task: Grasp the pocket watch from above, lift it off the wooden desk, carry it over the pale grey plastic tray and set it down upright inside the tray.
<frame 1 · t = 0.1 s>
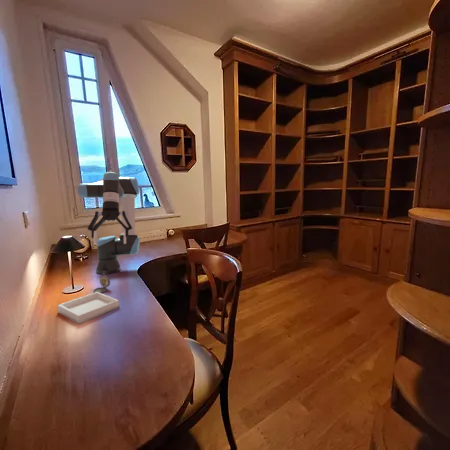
hand: (110, 244, 123), 28 cm above the table, tool tilted 20°, fingers open, 13 cm apart
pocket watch: (102, 290, 136), on the table
tray: (89, 309, 114), on the table
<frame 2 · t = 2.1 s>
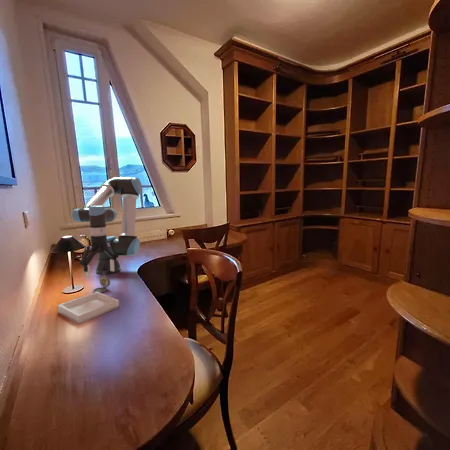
hand: (100, 274, 135), 9 cm above the table, tool pointing down, fingers open, 13 cm apart
nothing on the table moved.
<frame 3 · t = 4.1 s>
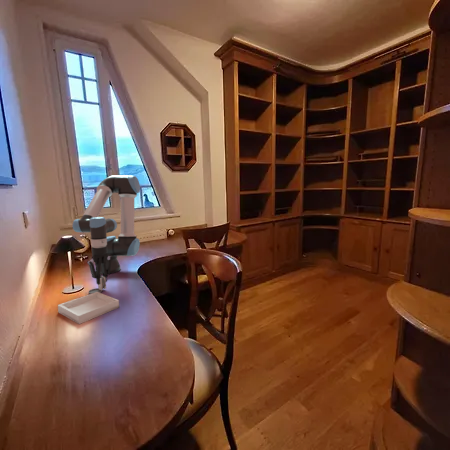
hand: (102, 288, 136), 1 cm above the table, tool pointing down, fingers closed on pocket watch
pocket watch: (97, 292, 135), on the table, touching gripper
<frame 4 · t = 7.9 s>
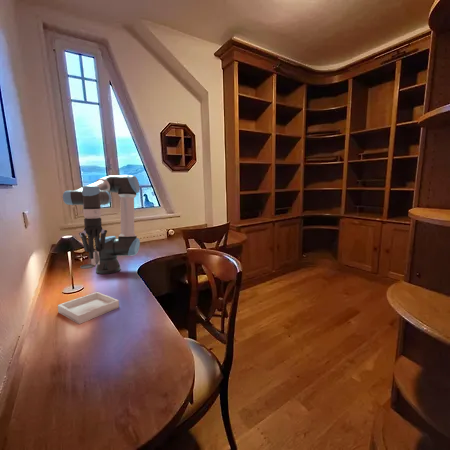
hand: (95, 264, 126), 17 cm above the table, tool pointing down, fingers closed on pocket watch
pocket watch: (90, 267, 124), point 16 cm above the table, touching gripper
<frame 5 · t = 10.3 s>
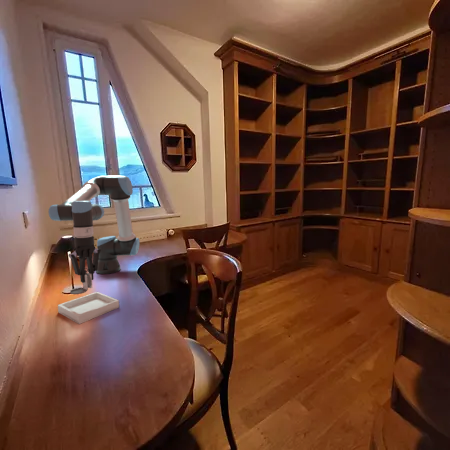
hand: (87, 288, 112), 10 cm above the table, tool pointing down, fingers closed on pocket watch
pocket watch: (82, 292, 111), point 9 cm above the table, touching gripper
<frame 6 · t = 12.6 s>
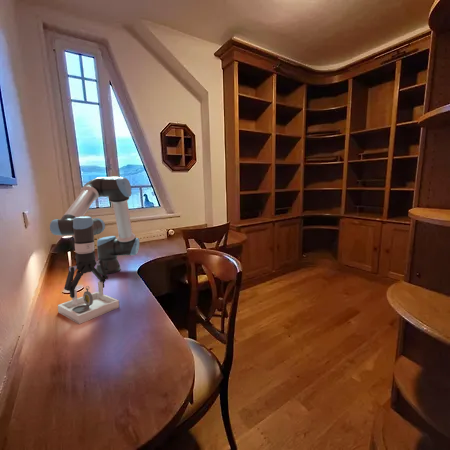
hand: (88, 299, 113), 5 cm above the table, tool pointing down, fingers open, 11 cm apart
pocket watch: (83, 309, 112), point 1 cm above the table, touching tray
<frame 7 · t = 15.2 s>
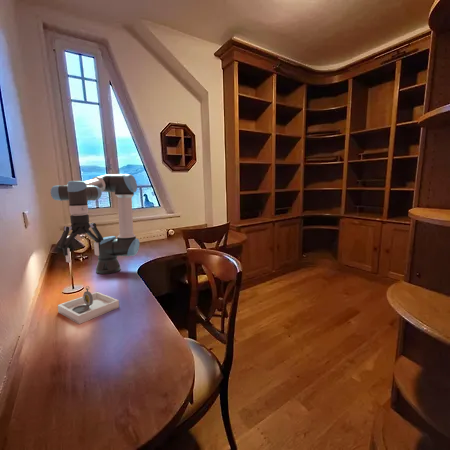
hand: (83, 258, 120), 21 cm above the table, tool pointing down, fingers open, 13 cm apart
nothing on the table moved.
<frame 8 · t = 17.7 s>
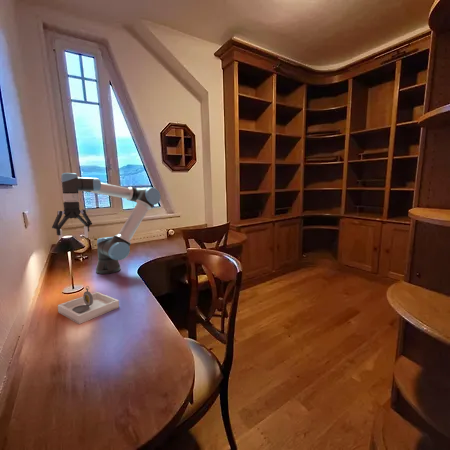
hand: (74, 239, 141), 27 cm above the table, tool pointing down, fingers open, 13 cm apart
nothing on the table moved.
at the end: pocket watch inside the target area on the tray (2.3 cm from its centre), point 0.8 cm above the tray's base; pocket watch tilted 0°; the gripper is holding nothing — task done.
